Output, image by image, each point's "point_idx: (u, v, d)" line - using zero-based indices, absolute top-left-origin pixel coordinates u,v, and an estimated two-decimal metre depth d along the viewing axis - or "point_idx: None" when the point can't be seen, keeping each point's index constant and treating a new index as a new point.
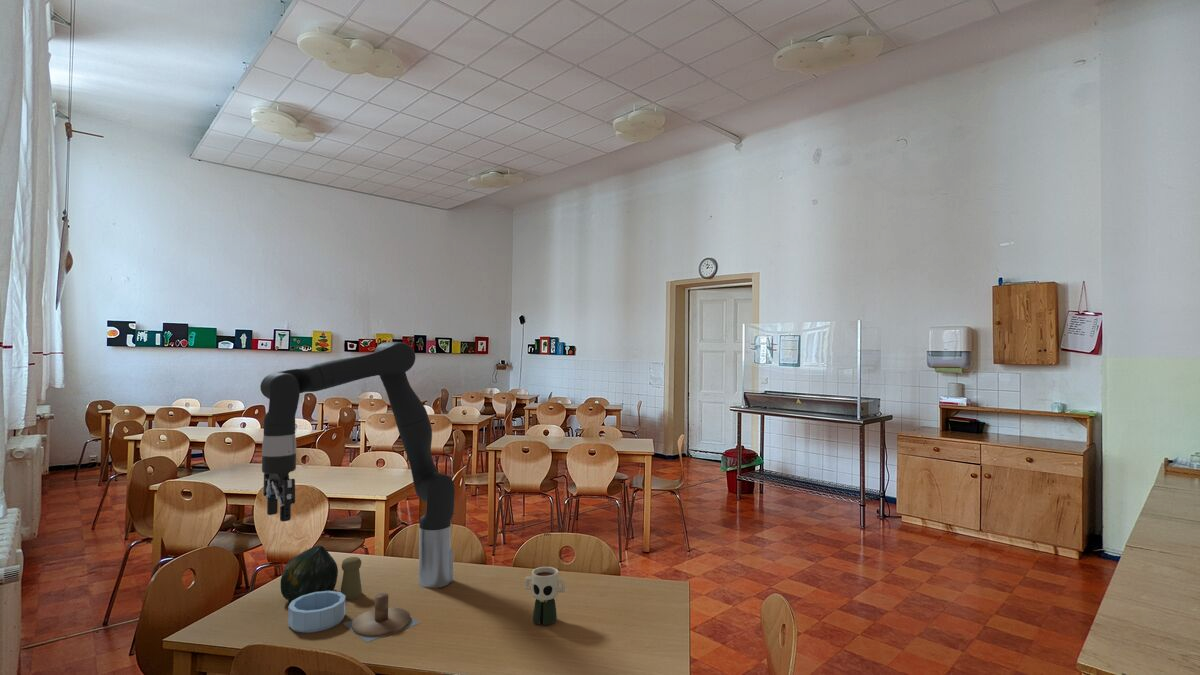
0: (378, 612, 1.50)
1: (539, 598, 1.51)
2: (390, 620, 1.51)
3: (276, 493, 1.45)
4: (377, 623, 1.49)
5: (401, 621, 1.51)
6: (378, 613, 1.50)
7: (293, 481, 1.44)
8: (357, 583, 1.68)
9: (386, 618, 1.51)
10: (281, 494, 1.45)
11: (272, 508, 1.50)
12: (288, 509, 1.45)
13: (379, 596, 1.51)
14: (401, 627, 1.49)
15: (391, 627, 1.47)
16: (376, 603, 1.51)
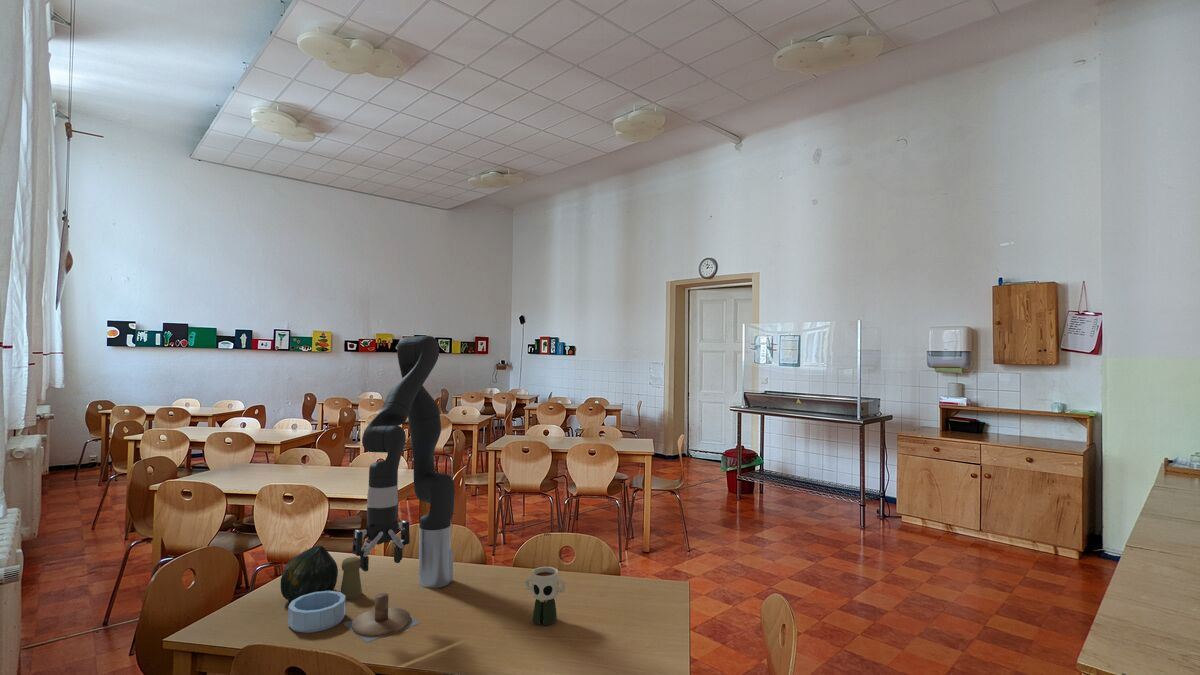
0: (378, 612, 1.50)
1: (539, 598, 1.51)
2: (390, 620, 1.51)
3: (396, 538, 1.53)
4: (377, 623, 1.49)
5: (401, 621, 1.51)
6: (378, 613, 1.50)
7: None
8: (357, 583, 1.68)
9: (386, 618, 1.51)
10: None
11: None
12: None
13: (379, 596, 1.51)
14: (401, 627, 1.49)
15: (391, 627, 1.47)
16: (376, 603, 1.51)
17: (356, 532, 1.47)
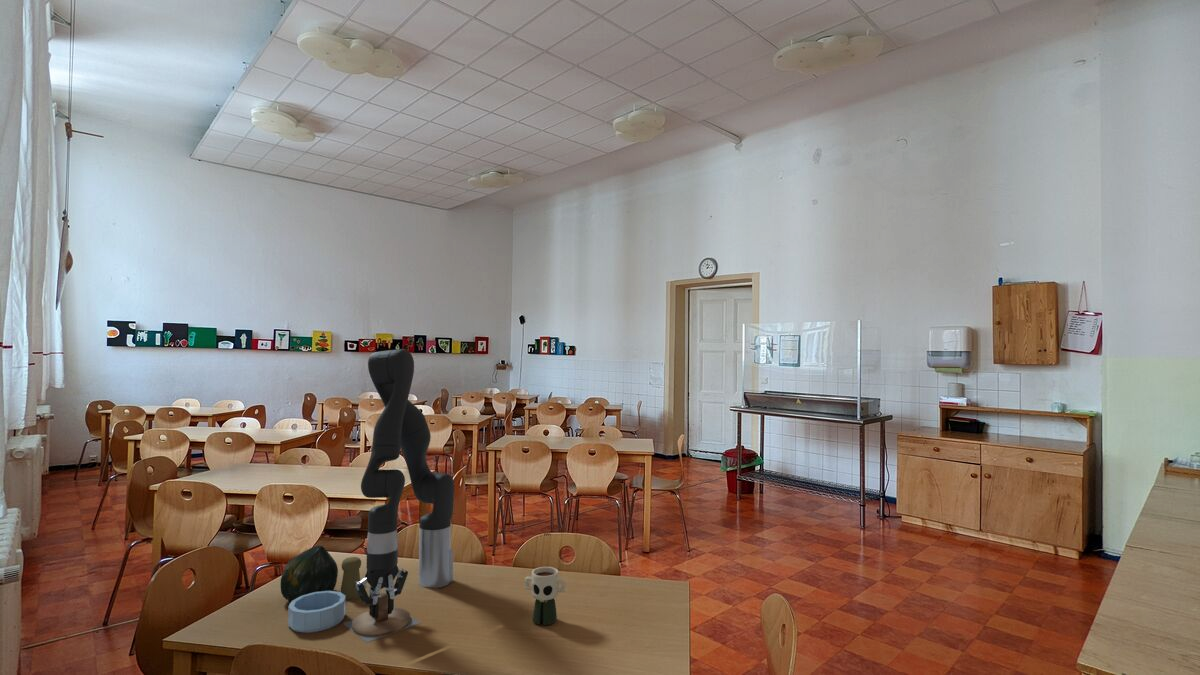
0: (378, 612, 1.50)
1: (539, 598, 1.51)
2: (390, 619, 1.51)
3: (392, 586, 1.52)
4: (377, 623, 1.49)
5: (401, 621, 1.51)
6: (378, 612, 1.50)
7: None
8: None
9: (386, 618, 1.51)
10: None
11: None
12: None
13: (379, 596, 1.52)
14: (401, 627, 1.49)
15: (391, 627, 1.47)
16: None
17: (356, 585, 1.47)
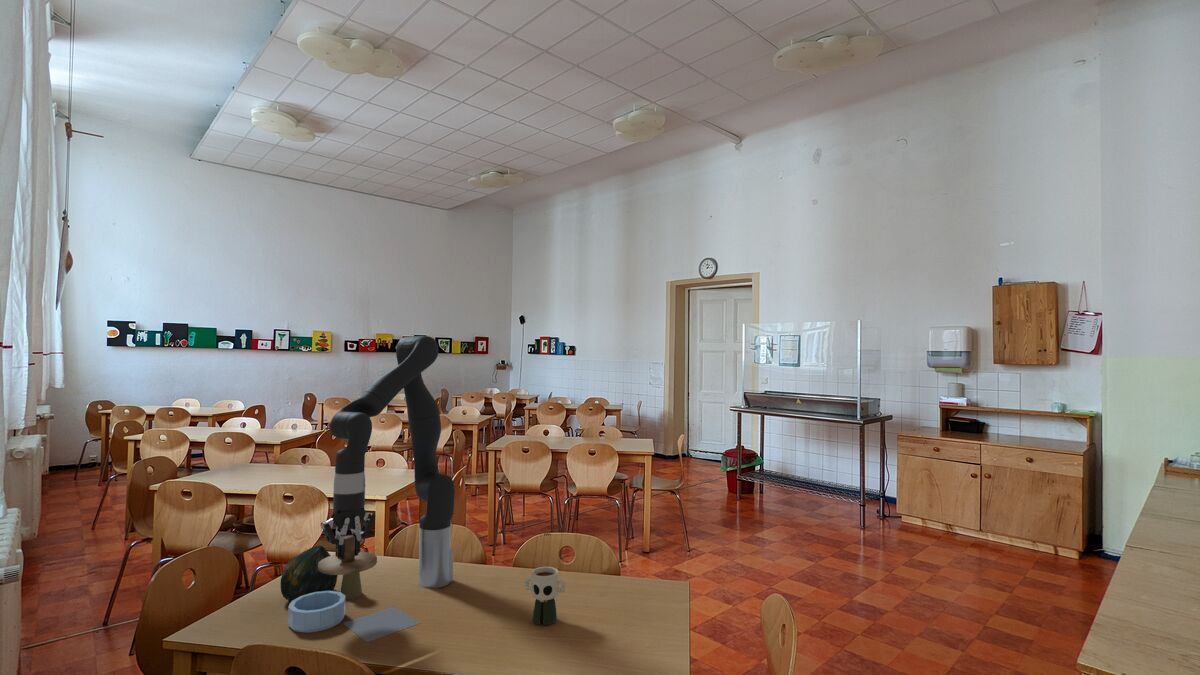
0: (344, 553, 1.51)
1: (539, 598, 1.51)
2: (357, 561, 1.52)
3: (359, 528, 1.53)
4: (343, 564, 1.50)
5: (368, 562, 1.51)
6: (345, 553, 1.51)
7: None
8: (357, 583, 1.68)
9: (353, 559, 1.52)
10: None
11: None
12: None
13: (346, 537, 1.52)
14: (367, 567, 1.49)
15: (357, 567, 1.48)
16: None
17: (323, 525, 1.48)
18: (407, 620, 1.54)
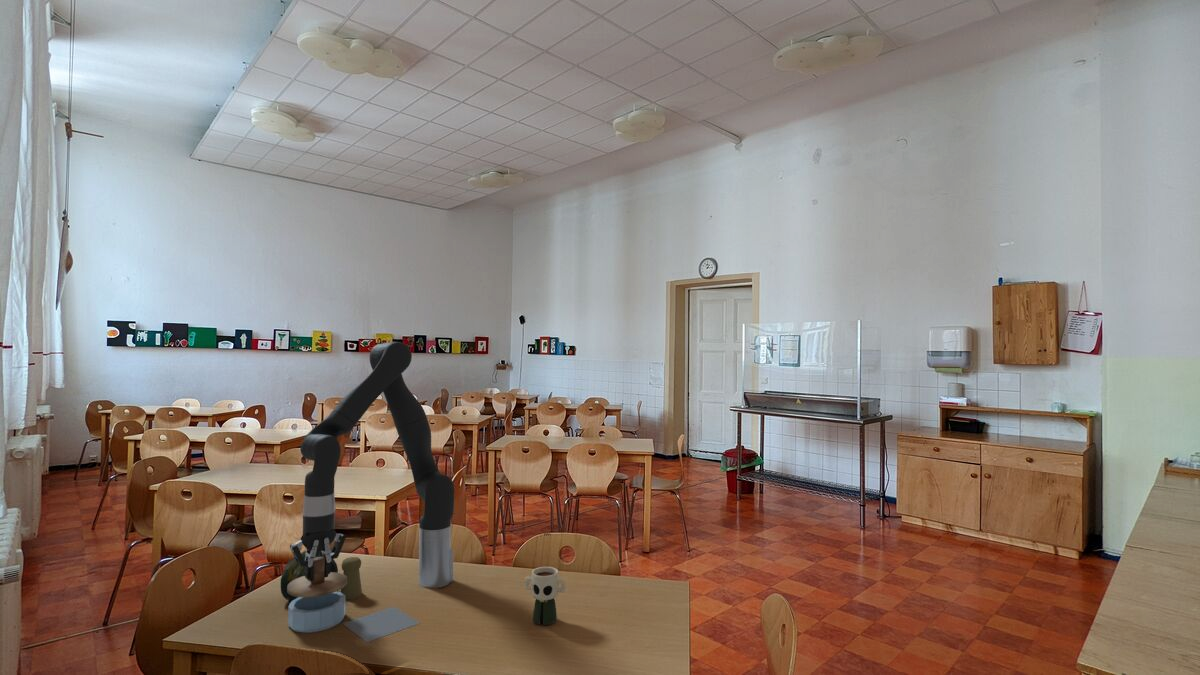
0: (314, 574, 1.52)
1: (539, 598, 1.51)
2: (326, 582, 1.53)
3: (328, 550, 1.54)
4: (312, 586, 1.51)
5: (337, 584, 1.52)
6: (314, 575, 1.52)
7: None
8: (357, 583, 1.68)
9: (322, 581, 1.53)
10: None
11: None
12: None
13: (315, 559, 1.53)
14: (336, 589, 1.50)
15: (325, 589, 1.49)
16: None
17: (291, 547, 1.49)
18: (407, 620, 1.54)
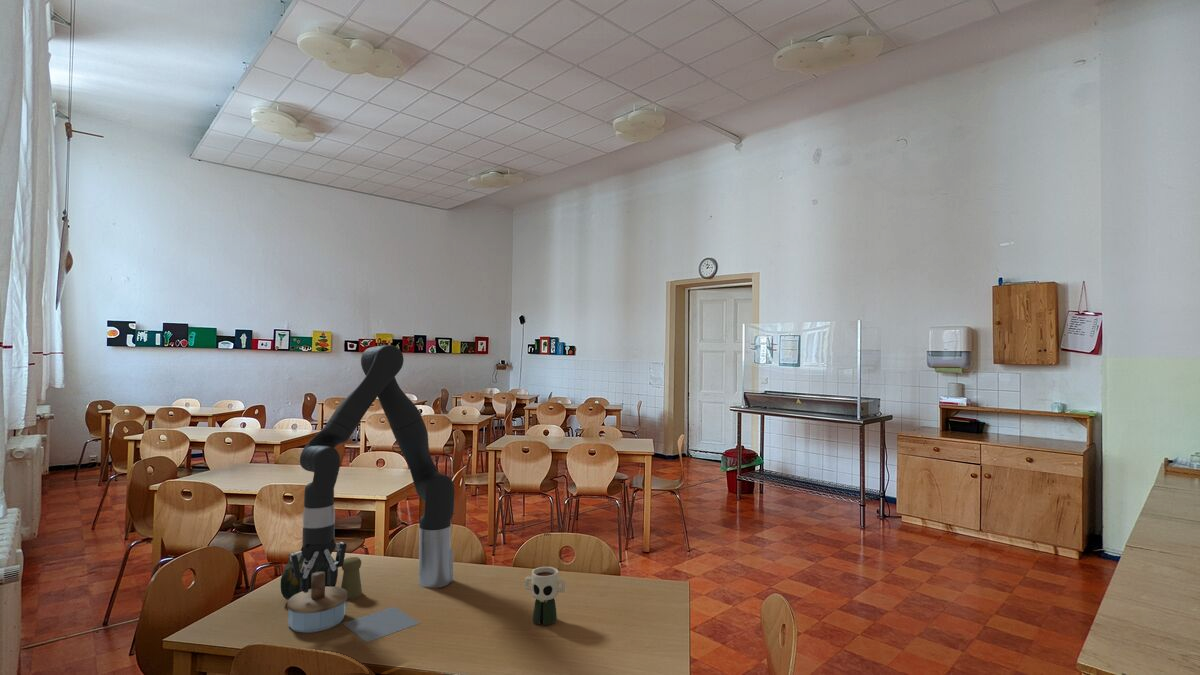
0: (314, 589, 1.52)
1: (539, 598, 1.51)
2: (327, 597, 1.53)
3: (331, 559, 1.54)
4: (313, 601, 1.51)
5: (337, 599, 1.52)
6: (314, 590, 1.52)
7: None
8: (357, 583, 1.68)
9: (322, 596, 1.53)
10: None
11: None
12: None
13: (315, 574, 1.53)
14: (336, 604, 1.50)
15: (326, 604, 1.49)
16: (312, 581, 1.52)
17: (290, 556, 1.48)
18: (407, 620, 1.54)
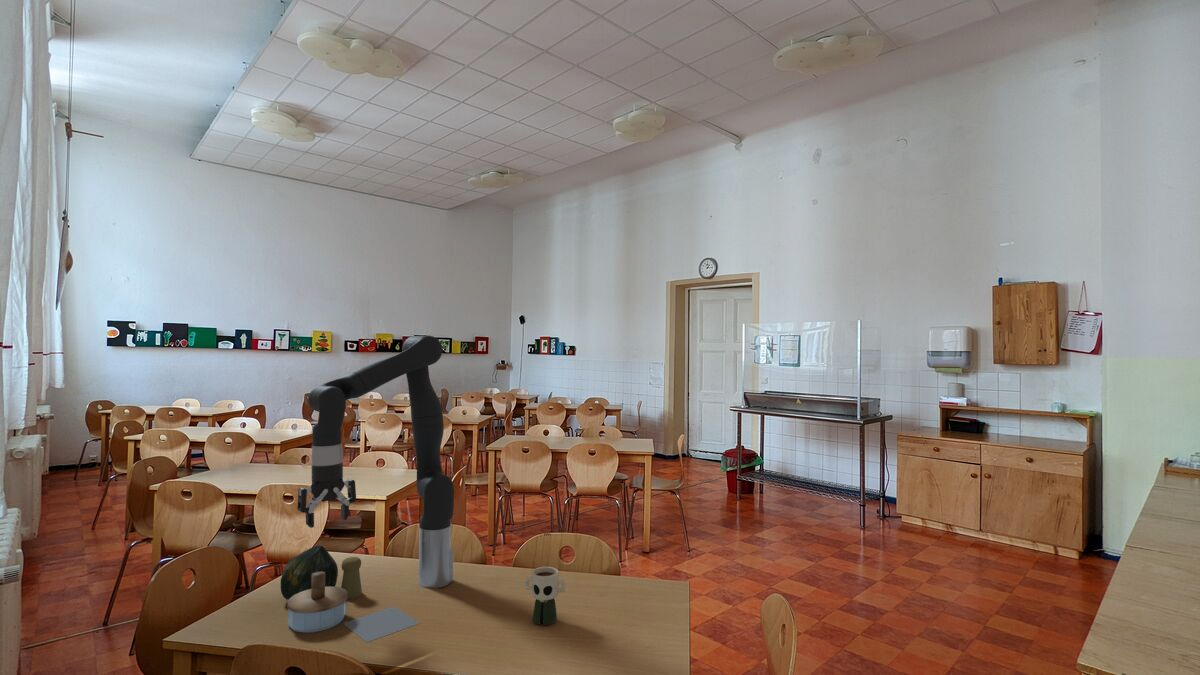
0: (314, 589, 1.52)
1: (539, 598, 1.51)
2: (327, 597, 1.53)
3: (342, 496, 1.57)
4: (313, 601, 1.51)
5: (337, 599, 1.52)
6: (314, 590, 1.52)
7: None
8: (357, 583, 1.68)
9: (322, 596, 1.53)
10: None
11: None
12: None
13: (315, 574, 1.53)
14: (336, 604, 1.50)
15: (326, 604, 1.49)
16: (312, 581, 1.52)
17: (300, 489, 1.51)
18: (407, 620, 1.54)
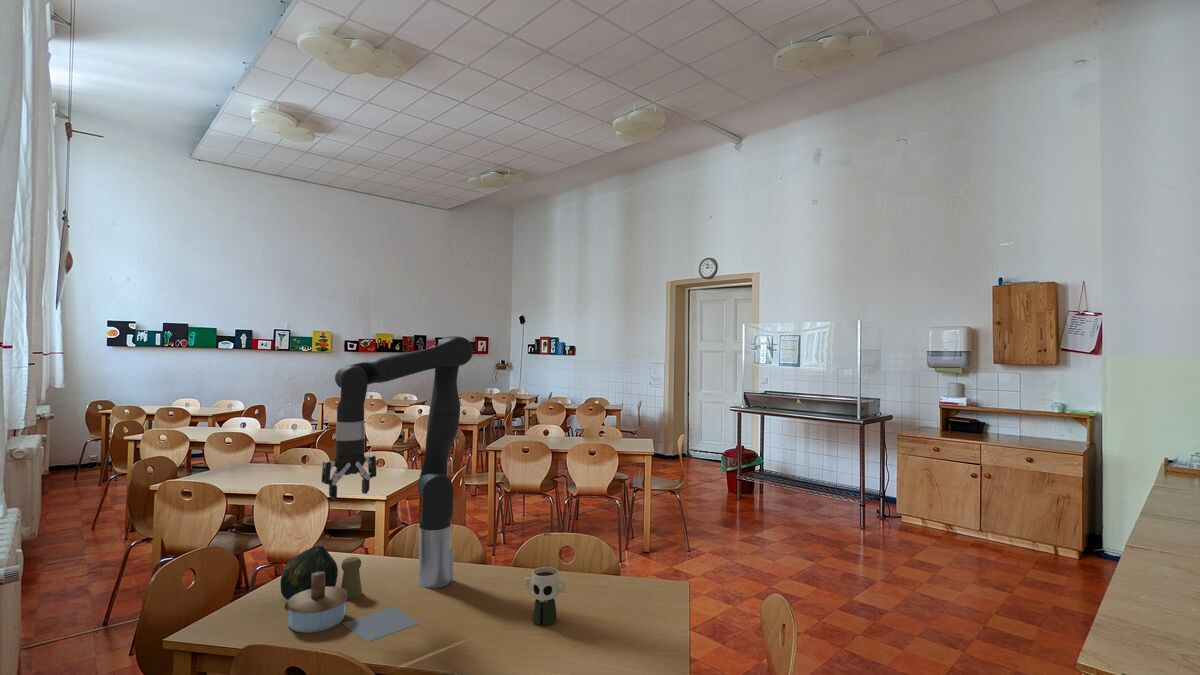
0: (314, 589, 1.52)
1: (539, 598, 1.51)
2: (327, 597, 1.53)
3: (363, 470, 1.65)
4: (313, 601, 1.51)
5: (337, 599, 1.52)
6: (314, 590, 1.52)
7: None
8: (357, 583, 1.68)
9: (322, 596, 1.53)
10: None
11: None
12: None
13: (315, 574, 1.53)
14: (336, 604, 1.50)
15: (326, 604, 1.49)
16: (312, 581, 1.52)
17: (325, 462, 1.59)
18: (407, 620, 1.54)
